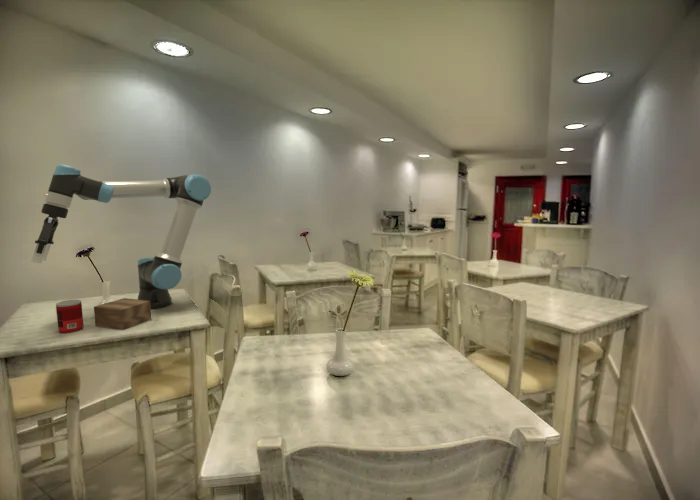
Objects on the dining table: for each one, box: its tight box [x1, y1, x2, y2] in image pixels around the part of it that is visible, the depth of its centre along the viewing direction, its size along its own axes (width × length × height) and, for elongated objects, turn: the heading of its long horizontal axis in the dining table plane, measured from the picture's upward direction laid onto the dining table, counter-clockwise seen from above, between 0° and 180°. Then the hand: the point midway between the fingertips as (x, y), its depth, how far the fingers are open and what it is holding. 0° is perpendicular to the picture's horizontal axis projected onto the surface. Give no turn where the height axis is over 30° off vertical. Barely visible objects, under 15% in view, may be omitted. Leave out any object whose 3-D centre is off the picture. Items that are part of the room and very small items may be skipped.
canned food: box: [55, 299, 84, 334], centre depth 146 cm, size 8×8×11 cm
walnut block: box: [93, 297, 152, 331], centre depth 155 cm, size 14×14×8 cm
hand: (38, 261), depth 139 cm, fingers open, 13 cm apart
